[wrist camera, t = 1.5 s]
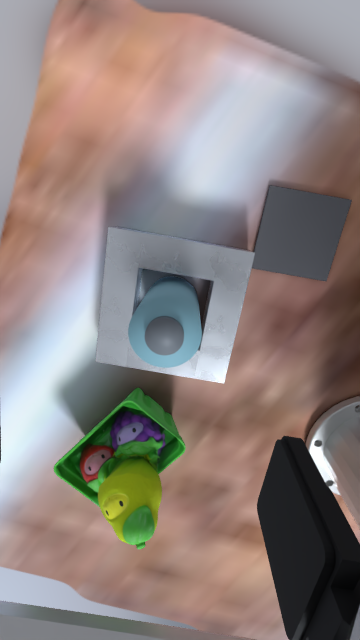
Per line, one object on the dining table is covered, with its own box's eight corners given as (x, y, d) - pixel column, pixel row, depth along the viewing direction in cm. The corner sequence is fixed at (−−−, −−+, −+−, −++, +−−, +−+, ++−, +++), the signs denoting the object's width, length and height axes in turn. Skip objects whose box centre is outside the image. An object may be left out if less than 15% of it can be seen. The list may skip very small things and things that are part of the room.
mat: (349, 200, 26) (351, 200, 26) (324, 280, 28) (326, 281, 28) (269, 185, 26) (270, 185, 26) (249, 267, 28) (250, 268, 28)
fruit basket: (137, 370, 32) (110, 445, 21) (197, 423, 34) (201, 517, 23) (69, 435, 34) (14, 531, 24) (128, 481, 36) (101, 590, 25)
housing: (248, 250, 28) (255, 252, 25) (220, 368, 31) (224, 383, 29) (116, 226, 28) (108, 226, 25) (103, 349, 31) (95, 361, 28)
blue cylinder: (202, 281, 29) (209, 307, 20) (193, 330, 30) (194, 377, 21) (149, 271, 29) (131, 294, 20) (142, 322, 30) (122, 365, 21)
